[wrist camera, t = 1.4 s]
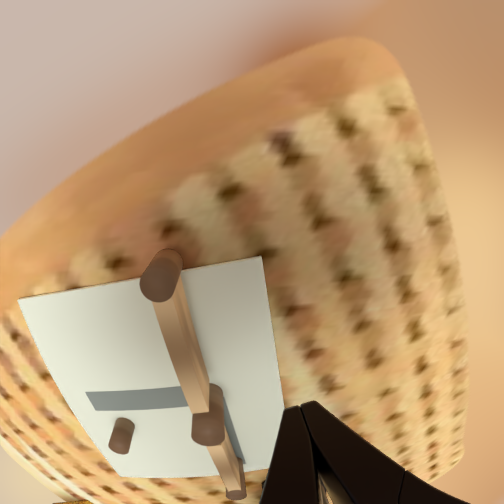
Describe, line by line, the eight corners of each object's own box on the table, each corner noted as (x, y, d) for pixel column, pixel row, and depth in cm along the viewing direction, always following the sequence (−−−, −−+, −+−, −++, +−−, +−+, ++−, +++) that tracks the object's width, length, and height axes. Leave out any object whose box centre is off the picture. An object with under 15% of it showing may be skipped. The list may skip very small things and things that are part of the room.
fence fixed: (246, 461, 22) (250, 500, 18) (148, 468, 22) (143, 504, 18) (219, 378, 19) (220, 424, 15) (99, 389, 19) (81, 429, 15)
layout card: (291, 461, 23) (292, 463, 23) (120, 474, 22) (120, 476, 22) (261, 255, 17) (261, 257, 17) (19, 298, 16) (17, 300, 16)
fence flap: (214, 379, 18) (214, 413, 15) (189, 382, 18) (186, 416, 15) (179, 246, 16) (170, 265, 13) (150, 251, 16) (135, 271, 13)
